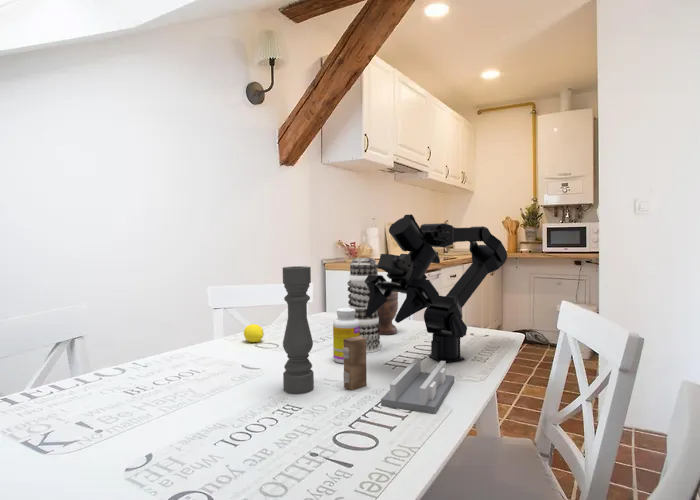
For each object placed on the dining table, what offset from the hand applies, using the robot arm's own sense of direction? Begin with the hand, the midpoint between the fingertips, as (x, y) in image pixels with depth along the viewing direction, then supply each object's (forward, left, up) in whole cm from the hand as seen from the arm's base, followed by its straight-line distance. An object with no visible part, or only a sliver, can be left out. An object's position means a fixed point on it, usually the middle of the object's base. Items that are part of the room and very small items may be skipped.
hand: (381, 318), depth 95 cm
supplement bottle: (+1, -16, -13) cm, 21 cm away
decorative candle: (-8, -24, -13) cm, 29 cm away
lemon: (+18, -46, -13) cm, 51 cm away
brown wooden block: (+7, +2, -13) cm, 15 cm away
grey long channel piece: (-3, +11, -13) cm, 17 cm away
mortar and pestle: (-21, -38, -13) cm, 45 cm away
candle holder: (+18, -2, -13) cm, 23 cm away
